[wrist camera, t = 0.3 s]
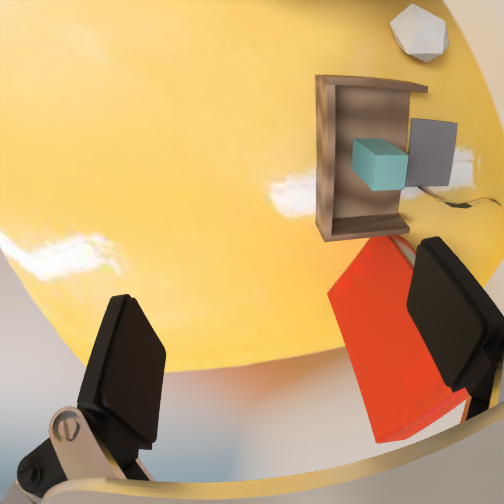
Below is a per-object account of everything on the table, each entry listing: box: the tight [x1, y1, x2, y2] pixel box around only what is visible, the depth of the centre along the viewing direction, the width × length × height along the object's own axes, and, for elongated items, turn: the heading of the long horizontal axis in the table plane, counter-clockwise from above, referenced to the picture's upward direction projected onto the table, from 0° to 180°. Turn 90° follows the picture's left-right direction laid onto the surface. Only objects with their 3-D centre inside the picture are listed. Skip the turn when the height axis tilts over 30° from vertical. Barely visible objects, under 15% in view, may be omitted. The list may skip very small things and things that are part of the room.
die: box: [389, 3, 449, 63], centre depth 28 cm, size 8×9×10 cm
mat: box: [405, 118, 457, 187], centre depth 43 cm, size 12×10×1 cm
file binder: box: [327, 235, 468, 443], centre depth 43 cm, size 8×17×32 cm, turn 154°
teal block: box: [352, 138, 409, 191], centre depth 39 cm, size 5×5×8 cm
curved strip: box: [417, 186, 504, 212], centre depth 48 cm, size 6×39×4 cm, turn 73°
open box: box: [315, 75, 428, 242], centre depth 40 cm, size 24×15×6 cm, turn 5°
